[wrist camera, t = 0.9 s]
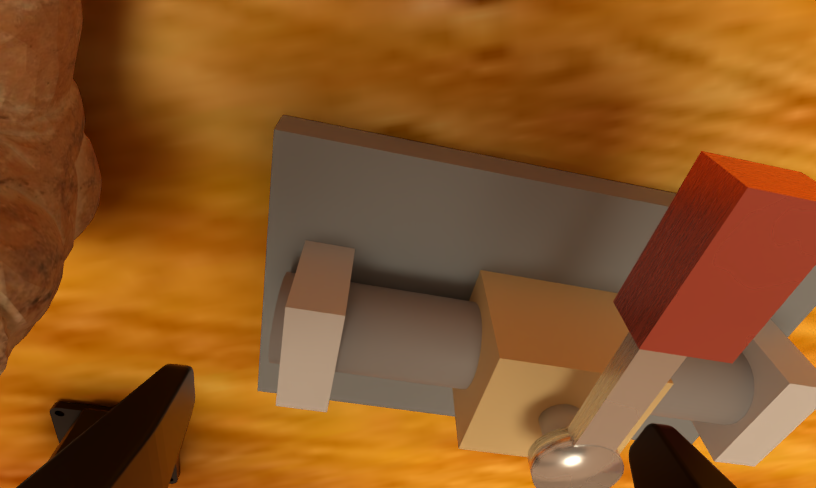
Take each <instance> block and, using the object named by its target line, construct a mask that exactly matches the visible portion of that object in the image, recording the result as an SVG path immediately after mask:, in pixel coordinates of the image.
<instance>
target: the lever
mask: <svg viewBox="0 0 816 488" xmlns="http://www.w3.org/2000/svg"><path fill="white" fill-rule="evenodd" d="M815 265H816V181H814V180H813V179H811V178H809V177H808V176H806V175H805V174H803V173H802V172H797V171H793V170H788V169H783V168H779V167H774V166H769V165H764V164H760V163H755V162H750V161H746V160H741V159H736V158H732V157H727V156H722V155H718V154H713V153H708V152H704V151H701V153H700V154H699V156H698V158H697V160H696V161H695V163H694V165H693V166H692V168H691V170H690V171H689V173H688V175H687V177H686V178H685V180H684V182H683V183H682V185H681V187H680V188H679V190H678V192H677V194H676V195H675V197H674V199H673V200H672V202H671V204H670V206H669V207H668V209H667V211H666V212H665V214H664V216H663V217H662V219H661V221H660V223H659V224H658V226H657V228H656V229H655V231H654V233H653V234H652V236H651V238H650V240H649V241H648V243H647V245H646V246H645V248H644V250H643V251H642V253H641V255H640V257H639V258H638V260H637V262H636V263H635V265H634V267H633V268H632V270H631V272H630V274H629V275H628V277H627V279H626V280H625V282H624V284H623V286H622V287H621V289H620V291H619V292H618V294H617V296H616V297H615V299H614V301H613V303H614V304H615V306H616V308H617V310H618V312H619V314H620V315H621V317H622V319H623V321H624V323H625V325H626V326H627V328H628V330H629V333H628V334H627V336H626V337H625V339H624V340H623V342H622V343H621V345H620V347H619V348H618V350H617V351H616V353H615V354H614V356H613V358H612V359H611V361H610V362H609V364H608V365H607V367H606V368H605V370H604V372H603V373H602V375H601V376H600V378H599V379H598V381H597V383H596V384H595V386H594V387H593V389H592V390H591V392H590V393H589V395H588V397H587V398H586V400H585V401H584V403H583V404H582V406H581V408H580V409H579V411H578V412H577V414H576V415H575V417H574V418H573V420H572V422H571V423H570V425H569V426H568V427H564V428H559V429H556V430H553V431H551V432H548V433H546V434H545V435H543V436H541V437H540V438H538V439H537V440H536V441H535V442H534V443H533V444H532V445H531V447H530V449H529V451H528V462H529V466H530V470H531V475H532V479H533V483H534V485H535V486H536V488H609V487H611V486H612V485H614V484H615V483H616V482H617V481H618V480H619V479H620V477H621V476H622V474H623V471H624V465H623V462H622V459H621V457H620V454H619V452H618V449H617V448H618V447H619V445H620V444H621V443H622V441H623V440H624V439H625V437H626V436H627V435H628V434H629V432H630V431H631V430H632V428H633V427H634V426H635V424H636V423H637V422H638V420H639V419H640V418H641V416H642V415H643V414H644V412H645V411H646V410H647V409H648V407H649V406H650V405H651V403H652V402H653V401H654V399H655V398H656V397H657V395H658V394H659V393H660V391H661V390H662V389H663V388H664V386H665V385H666V384H667V382H668V381H669V380H670V378H671V377H672V376H673V374H674V373H675V372H676V370H677V369H678V368H679V367H680V365H681V364H682V363H683V361H684V360H685V359H686V357H693V358H700V359H706V360H712V361H719V362H725V363H733V362H734V361H735V360H736V359H737V358H738V356H739V355H740V354H741V353H742V352H743V350H744V349H745V348H746V347H747V346H748V344H749V343H750V342H751V341H752V340H753V339H754V337H755V336H756V335H757V334H758V333H759V331H760V330H761V329H762V328H763V327H764V326H765V324H766V323H767V322H768V321H769V320H770V318H771V317H772V316H773V315H774V314H775V313H776V311H777V310H778V309H779V308H780V307H781V305H782V304H783V303H784V302H785V301H786V300H787V298H788V297H789V296H790V295H791V294H792V292H793V291H794V290H795V289H796V288H797V286H798V285H799V284H800V283H801V282H802V281H803V279H804V278H805V277H806V276H807V275H808V273H809V272H810V271H811V270H812V269H813V268H814V266H815Z"/></svg>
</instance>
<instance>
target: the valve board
mask: <svg viewBox="0 0 816 488" xmlns="http://www.w3.org/2000/svg"><path fill="white" fill-rule="evenodd" d="M675 195H676V193H671V192H666V191H661V190H656V189H651V188H646V187H641V186H636V185H631V184H626V183H621V182H616V181H611V180H606V179H601V178H596V177H591V176H586V175H581V174H576V173H571V172H566V171H561V170H556V169H551V168H546V167H541V166H536V165H531V164H526V163H521V162H516V161H511V160H506V159H501V158H496V157H491V156H486V155H481V154H476V153H471V152H466V151H461V150H456V149H451V148H446V147H441V146H436V145H431V144H426V143H421V142H416V141H411V140H406V139H401V138H396V137H391V136H386V135H381V134H376V133H371V132H366V131H361V130H356V129H351V128H346V127H341V126H336V125H331V124H326V123H321V122H316V121H311V120H306V119H301V118H296V117H291V116H286V115H283V116H282V117H281V119H280V120H279V122H278V124H277V125H276V127H275V129H274V138H273V154H272V170H271V186H270V202H269V218H268V234H267V250H266V266H265V282H264V298H263V313H262V329H261V345H260V361H259V377H258V391H263V392H271V393H277V398H276V406H281V407H289V408H297V409H305V410H313V411H321V412H327V410H328V404H329V400H332V401H340V402H348V403H356V404H363V405H371V406H379V407H386V408H394V409H402V410H410V411H417V412H425V413H433V414H440V415H448V416H455V419H456V428H457V438H458V448H459V449H466V450H474V451H482V452H490V453H499V454H507V455H515V456H523V457H528V451H529V449H530V447H531V445H532V444H533V443H534V442H535V441H536V440H537V439H538V438H540V437H541V436H543V435H545V434H546V433H548V432H551V431H553V430H556V429H559V428H564V427H568V426H569V425H570V423H571V422H572V420H573V418H574V417H575V415H576V414H577V412H578V411H579V409H580V408H581V406H582V404H583V403H584V401H585V400H586V398H587V397H588V395H589V393H590V392H591V390H592V389H593V387H594V386H595V384H596V383H597V381H598V379H599V378H600V376H601V375H602V373H603V372H604V370H605V368H606V367H607V365H608V364H609V362H610V361H611V359H612V358H613V356H614V354H615V353H616V351H617V350H618V348H619V347H620V345H621V343H622V342H623V340H624V339H625V337H626V336H627V334H628V333H629V330H628V328H627V326H626V325H625V323H624V321H623V319H622V317H621V315H620V314H619V312H618V310H617V308H616V306H615V304H614V303H613V301H614V299H615V297H616V296H617V294H618V292H619V291H620V289H621V287H622V286H623V284H624V282H625V280H626V279H627V277H628V275H629V274H630V272H631V270H632V268H633V267H634V265H635V263H636V262H637V260H638V258H639V257H640V255H641V253H642V251H643V250H644V248H645V246H646V245H647V243H648V241H649V240H650V238H651V236H652V234H653V233H654V231H655V229H656V228H657V226H658V224H659V223H660V221H661V219H662V217H663V216H664V214H665V212H666V211H667V209H668V207H669V206H670V204H671V202H672V200H673V199H674V197H675ZM815 306H816V265H815V266H814V268H813V269H812V270H811V271H810V272H809V273H808V275H807V276H806V277H805V278H804V279H803V281H802V282H801V283H800V284H799V285H798V286H797V288H796V289H795V290H794V291H793V292H792V294H791V295H790V296H789V297H788V298H787V300H786V301H785V302H784V303H783V304H782V305H781V307H780V308H779V309H778V310H777V311H776V313H775V314H774V315H773V316H772V317H771V318H770V320H769V321H768V322H767V323H766V324H765V326H764V327H763V328H762V329H761V330H760V331H759V333H758V334H757V335H756V336H755V337H754V339H753V340H752V341H751V342H750V343H749V344H748V346H747V347H746V348H745V349H744V350H743V352H742V353H741V354H740V355H739V356H738V358H737V359H736V360H735V361H734V362H733V363H725V362H719V361H712V360H706V359H700V358H693V357H686V359H685V360H684V361H683V363H682V364H681V365H680V367H679V368H678V369H677V370H676V372H675V373H674V374H673V376H672V377H671V378H670V380H669V381H668V382H667V384H666V385H665V386H664V388H663V389H662V390H661V391H660V393H659V394H658V395H657V397H656V398H655V399H654V401H653V402H652V403H651V405H650V406H649V407H648V409H647V410H646V411H645V412H644V414H643V415H642V416H641V418H640V419H639V420H638V422H637V423H636V424H635V426H634V427H633V428H632V430H631V431H630V432H629V434H628V435H627V436H626V437H625V439H624V440H623V441H622V443H621V444H620V445H619V447H618V448H617V449H618V452H619V454H620V453H621V451H622V450H623V449H624V448H625V446H626V445H627V444H628V442H629V441H630V440H631V439H633V440H636V439H637V437H638V436H639V435H640V433H641V432H642V431H643V429H644V428H645V427H646V426H647V425H648V424H650V423H657V424H665V425H670V426H672V427H674V428H675V429H676V430H677V431H678V432H679V433H680V434H682V435H683V436H684V437H685V438H686V439H687V440H688V441H689V442H690V443H691V444H692V443H693V442H694V441H695V440H696V439H697V438H698V437H699V435H700V437H701V439H702V441H703V442H704V444H705V446H706V448H707V449H708V451H709V453H710V455H711V456H712V458H713V460H714V461H716V462H724V463H732V464H740V465H748V466H756V465H757V464H758V463H759V462H760V461H761V460H762V459H763V458H764V457H765V456H766V455H767V454H769V453H770V452H771V451H772V450H773V449H774V448H775V447H776V446H777V445H778V444H779V443H780V442H781V441H782V440H783V439H785V438H786V437H787V436H788V435H789V434H790V433H791V432H792V431H793V430H794V429H795V428H796V427H797V426H798V425H799V424H800V423H802V422H803V421H804V420H805V419H806V418H807V417H808V416H809V415H810V414H811V413H812V412H813V411H814V410H815V409H816V368H815V367H814V366H813V365H812V364H811V363H810V362H809V361H808V360H807V359H806V357H805V356H804V355H803V354H802V353H801V352H800V351H799V350H798V349H797V348H796V347H795V345H794V344H793V343H792V342H791V341H790V340H789V339H788V338H787V337H788V336H789V335H790V334H791V333H792V332H793V331H794V330H795V328H796V327H797V326H798V325H799V324H800V323H801V322H802V321H803V320H804V318H805V317H806V316H807V315H808V314H809V313H810V312H811V311H812V309H813V308H814V307H815Z"/></svg>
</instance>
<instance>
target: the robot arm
mask: <svg viewBox="0 0 816 488" xmlns="http://www.w3.org/2000/svg"><path fill="white" fill-rule="evenodd" d="M194 403H195V388H194V373H193V369H192V368H191V367H190V366H186V365H178V364H167V365H165V366H163V367H162V368H161V369H160V370H158V371H157V372H156V373H155V374H154V375H152V376H151V377H150V378H149V379H147V380H146V381H145V382H144V383H143V384H141V385H140V386H139V387H138V388H137V389H135V390H134V391H133V392H132V393H130V394H129V395H128V396H127V397H126V398H124V399H123V400H122V401H121V402H120V403H118V404H117V405H116V406H115V407H113V408H109V407H101V406H93V405H84V404H76V403H68V402H56V403H55V404H54V405H53V407H52V408H51V410H50V415H51V418H52V421H53V424H54V428H55V431H56V434H57V437H58V440H59V445H58V447H57V448H56V450H55V451H54V453H53V454H52V456H51V457H50V459H49V460H48V462H47V463H45V464H44V465H43V466H42V467H41V468H39V469H38V470H37V471H36V472H35V473H33V474H32V475H31V476H30V477H28V478H27V479H26V480H25V481H24V482H22V483H21V484H20V485H19V486H18V487H16V488H168V486H169V484H173V483H176V482H177V480H178V478H179V475H180V470H179V458H178V455H179V452H180V449H181V445H182V442H183V439H184V436H185V433H186V430H187V427H188V424H189V421H190V417H191V414H192V411H193V407H194ZM629 463H630V468H631V473H632V478H633V483H634V488H737V487H736V486H735V485H734V484H733V483H732V482H731V481H730V480H729V479H728V478H726V477H725V476H724V475H723V474H722V473H721V472H720V471H719V470H718V469H717V468H716V467H715V466H714V465H713V464H712V463H711V462H710V461H709V460H708V459H707V458H706V457H705V456H703V455H702V454H701V453H700V452H699V451H698V450H697V449H696V448H695V447H694V446H693V445H692V444H691V443H690V442H689V441H688V440H687V439H686V438H685V437H684V436H683V435H682V434H680V433H679V432H678V431H677V430H676V429H675V428H674V427H672V426H670V425H665V424H657V423H650V424H648V425H647V426H646V427H645V428H644V429H643V431H642V432H641V433H640V435H639V436H638V437H637V439H636V440H635V441H634V443H633V444H632V445H631V447H630V450H629Z"/></svg>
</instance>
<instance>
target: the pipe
mask: <svg viewBox="0 0 816 488" xmlns="http://www.w3.org/2000/svg"><path fill="white" fill-rule="evenodd" d="M82 26H83V16H82V3H81V0H0V375H1V373H2V372H3V371H4V370H5V368H6V364H7V360H8V357H9V355H10V353H11V351H12V349H13V348H14V347H15V346H16V345H17V344H18V343H19V342H20V341H21V340H22V339H23V338H24V337H25V336H26V335H27V334H28V333H29V331H30V330H31V329H32V327H33V326H34V324H35V323H36V322H37V321H38V320H40V319H41V317H42V316H43V315H44V313H45V312H46V311H47V309H48V308H49V306H50V304H51V301H52V299H53V298H54V296H55V294H56V292H57V290H58V287H59V285H60V282H61V279H62V274H63V266H64V261H65V260H66V258H67V256H68V255H69V253H70V251H71V250H72V248H73V244H74V240H75V239H76V238H77V237H78V236H79V235H80V234H81V233H82V232H83V231H84V229H85V228H86V227H87V226H88V224H89V223H90V222H91V220H92V219H93V217H94V215H95V213H96V210H97V208H98V206H99V201H100V193H101V186H102V179H101V174H100V170H99V166H98V162H97V158H96V155H95V152H94V149H93V147H92V144H91V141H90V140H89V138H88V137H87V136H86V135H85V134H84V126H85V116H84V109H83V103H82V98H81V95H80V92H79V89H78V86H77V83H76V82H75V81H74V80H73V74H74V68H75V61H76V56H77V51H78V46H79V41H80V36H81V31H82Z"/></svg>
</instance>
